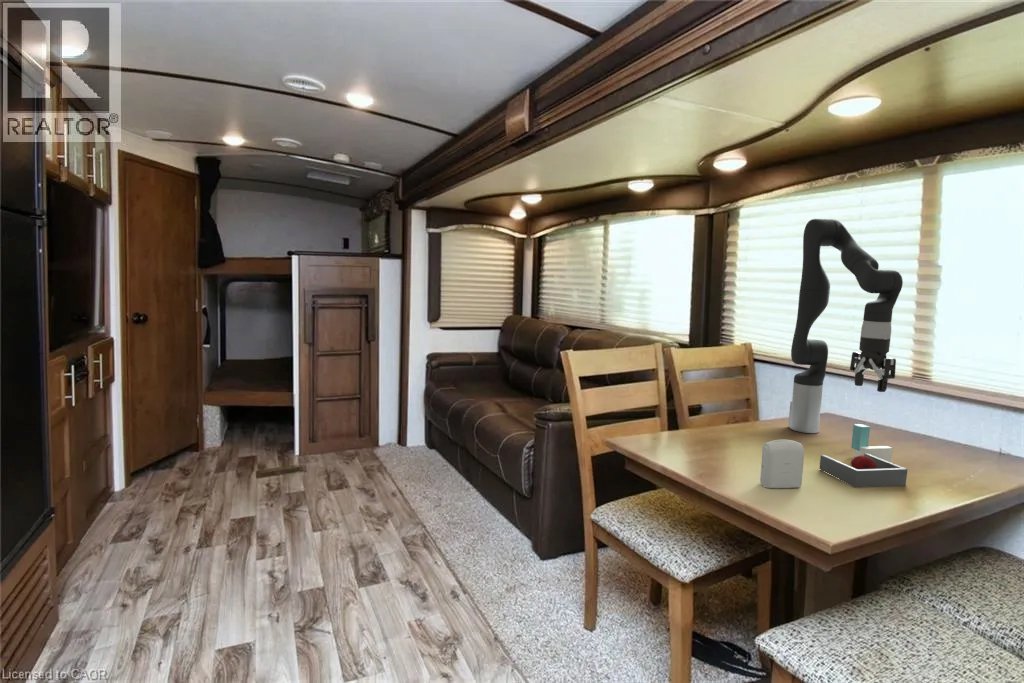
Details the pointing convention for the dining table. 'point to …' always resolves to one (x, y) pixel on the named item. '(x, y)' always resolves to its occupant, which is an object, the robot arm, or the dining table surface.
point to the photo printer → (782, 464)
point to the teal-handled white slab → (861, 444)
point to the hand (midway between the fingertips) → (869, 388)
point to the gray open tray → (866, 472)
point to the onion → (863, 463)
